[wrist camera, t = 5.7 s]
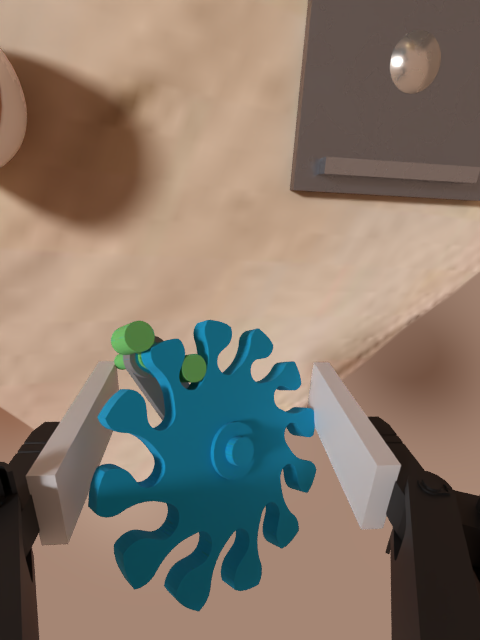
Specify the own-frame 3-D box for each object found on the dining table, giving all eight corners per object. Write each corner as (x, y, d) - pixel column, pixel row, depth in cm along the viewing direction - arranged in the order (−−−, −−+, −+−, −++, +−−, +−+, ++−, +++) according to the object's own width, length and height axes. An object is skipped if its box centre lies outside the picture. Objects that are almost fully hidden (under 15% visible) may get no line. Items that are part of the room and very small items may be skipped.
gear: (354, 450, 16) (226, 696, 10) (270, 437, 21) (147, 602, 15) (243, 250, 14) (-13, 420, 8) (175, 285, 18) (-21, 409, 12)
